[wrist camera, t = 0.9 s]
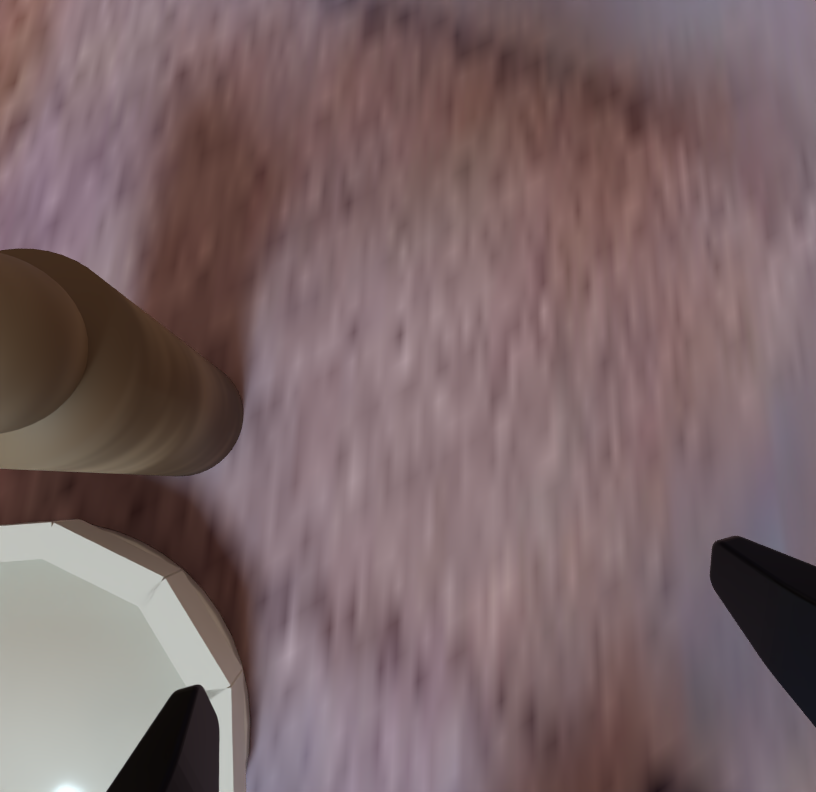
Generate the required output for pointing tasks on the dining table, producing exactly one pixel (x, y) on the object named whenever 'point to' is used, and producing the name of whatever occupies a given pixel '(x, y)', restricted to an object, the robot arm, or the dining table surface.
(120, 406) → the pepper mill
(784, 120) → the dining table surface
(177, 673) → the dish
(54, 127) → the dining table surface
